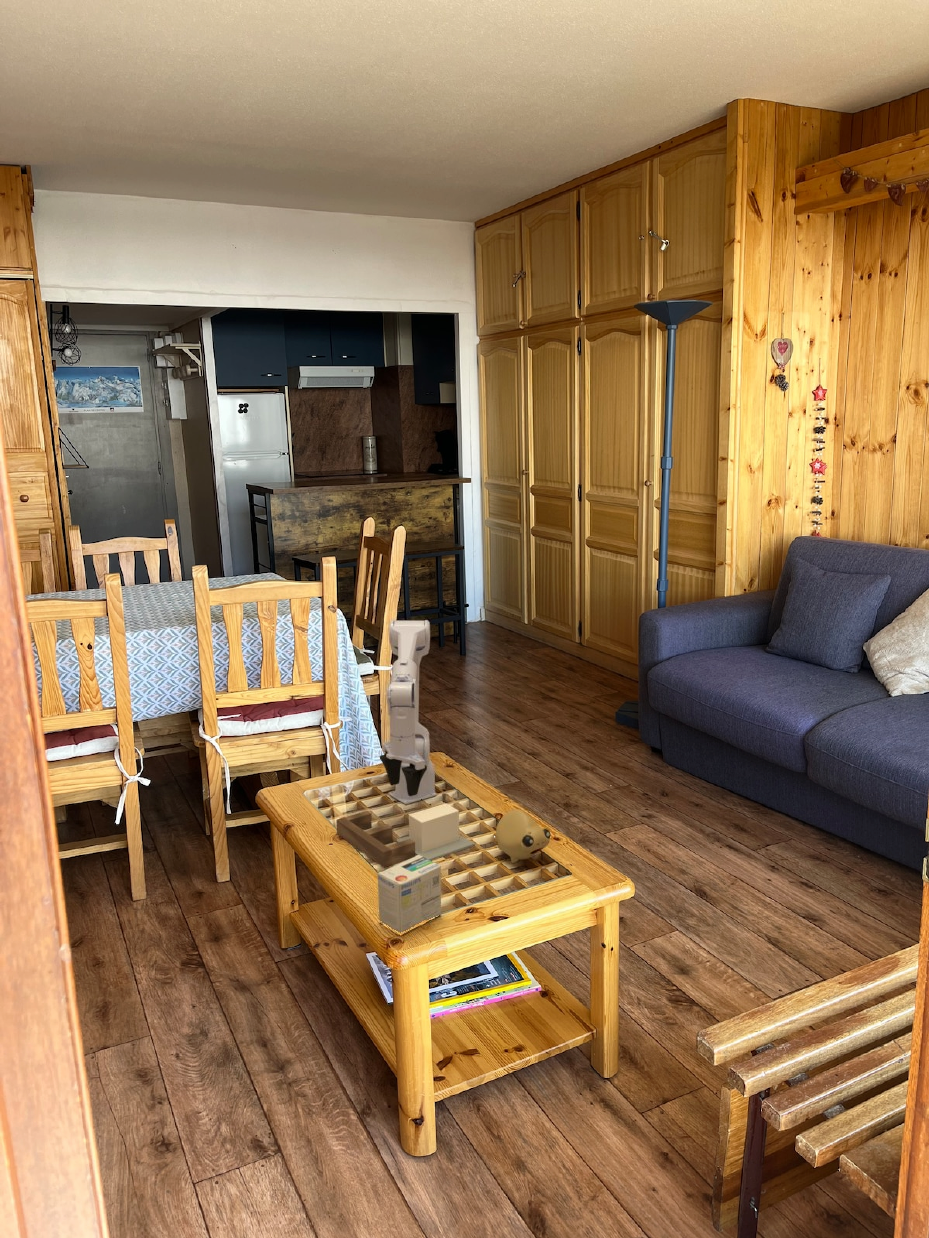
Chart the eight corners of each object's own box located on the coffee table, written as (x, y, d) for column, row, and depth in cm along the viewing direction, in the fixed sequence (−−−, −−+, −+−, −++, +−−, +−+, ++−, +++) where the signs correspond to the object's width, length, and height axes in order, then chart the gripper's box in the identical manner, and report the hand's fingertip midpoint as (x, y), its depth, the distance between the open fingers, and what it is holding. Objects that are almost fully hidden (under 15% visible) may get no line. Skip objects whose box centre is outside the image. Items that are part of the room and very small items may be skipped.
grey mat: (443, 826, 221) (443, 824, 220) (474, 845, 211) (474, 843, 211) (395, 841, 213) (395, 839, 213) (426, 862, 204) (426, 860, 203)
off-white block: (445, 831, 217) (445, 803, 215) (459, 839, 213) (458, 810, 211) (409, 844, 211) (408, 814, 209) (422, 852, 207) (421, 822, 205)
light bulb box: (419, 903, 187) (418, 852, 185) (442, 916, 183) (442, 864, 180) (377, 923, 180) (375, 871, 178) (400, 937, 175) (399, 884, 173)
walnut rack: (367, 824, 222) (366, 810, 221) (415, 856, 206) (415, 841, 205) (336, 833, 217) (336, 819, 216) (383, 867, 201) (383, 852, 201)
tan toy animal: (522, 876, 198) (523, 828, 195) (487, 854, 207) (487, 809, 205) (558, 862, 203) (559, 816, 201) (522, 842, 213) (522, 797, 210)
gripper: (370, 728, 218) (371, 783, 221) (405, 746, 207) (406, 804, 210) (396, 721, 222) (397, 776, 225) (432, 739, 211) (432, 796, 214)
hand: (403, 789), depth 218 cm, fingers open, 7 cm apart
